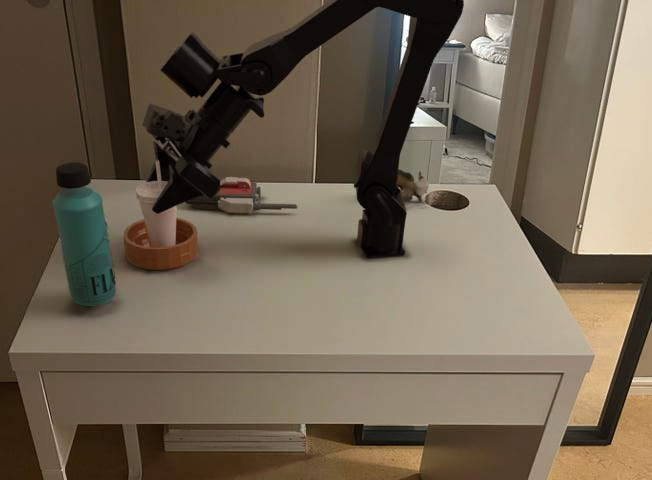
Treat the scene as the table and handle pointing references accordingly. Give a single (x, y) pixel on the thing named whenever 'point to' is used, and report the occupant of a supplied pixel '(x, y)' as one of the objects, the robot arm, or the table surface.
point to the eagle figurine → (411, 186)
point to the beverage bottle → (83, 237)
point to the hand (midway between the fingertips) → (149, 203)
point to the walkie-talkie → (236, 198)
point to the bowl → (160, 257)
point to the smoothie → (157, 224)
